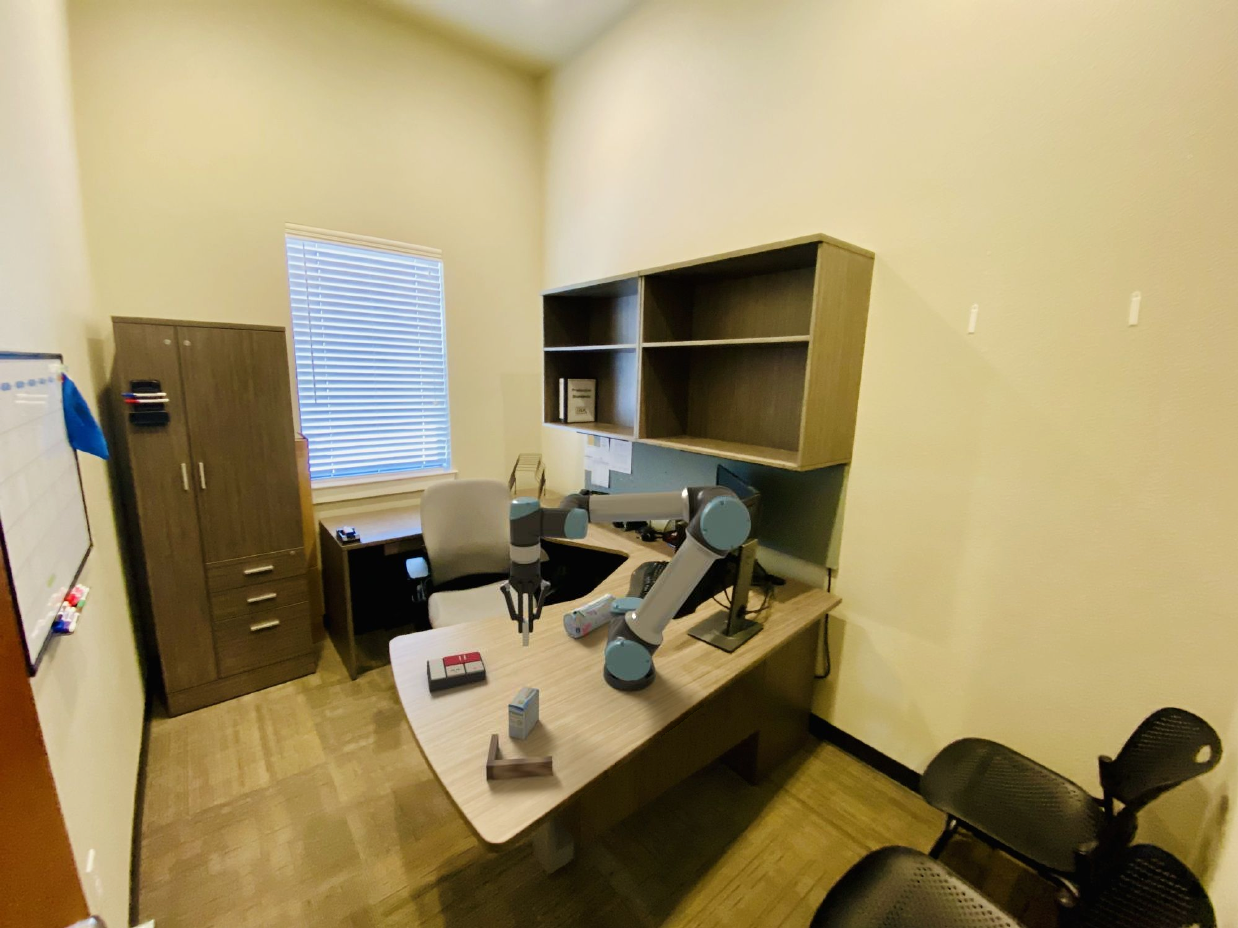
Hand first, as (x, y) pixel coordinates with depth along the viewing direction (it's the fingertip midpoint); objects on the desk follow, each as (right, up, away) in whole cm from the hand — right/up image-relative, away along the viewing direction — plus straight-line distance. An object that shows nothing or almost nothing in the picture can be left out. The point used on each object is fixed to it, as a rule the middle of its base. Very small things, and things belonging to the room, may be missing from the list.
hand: (526, 643), depth 129 cm
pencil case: (+15, -10, +42) cm, 45 cm away
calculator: (-22, -14, +13) cm, 29 cm away
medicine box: (+1, -18, -8) cm, 20 cm away
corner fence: (+2, -20, -18) cm, 27 cm away
